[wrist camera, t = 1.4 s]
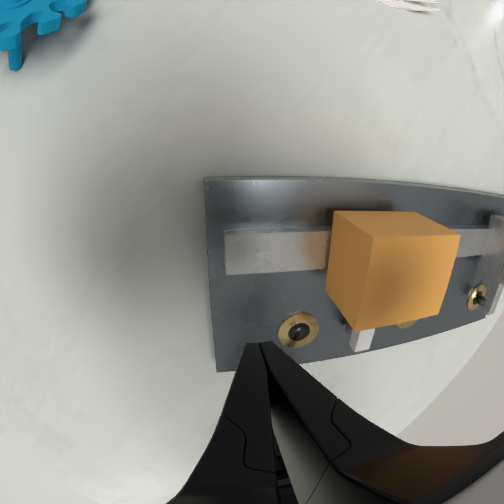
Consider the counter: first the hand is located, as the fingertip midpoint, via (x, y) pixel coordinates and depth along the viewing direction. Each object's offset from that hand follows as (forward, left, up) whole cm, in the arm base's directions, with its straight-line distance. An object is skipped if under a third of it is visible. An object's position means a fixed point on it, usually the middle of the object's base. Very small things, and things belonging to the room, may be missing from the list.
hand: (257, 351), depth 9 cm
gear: (+17, +14, -11) cm, 24 cm away
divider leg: (-2, -9, -8) cm, 12 cm away
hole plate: (-3, -13, -10) cm, 17 cm away
